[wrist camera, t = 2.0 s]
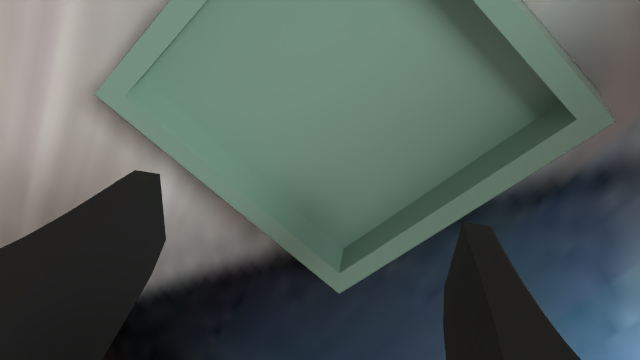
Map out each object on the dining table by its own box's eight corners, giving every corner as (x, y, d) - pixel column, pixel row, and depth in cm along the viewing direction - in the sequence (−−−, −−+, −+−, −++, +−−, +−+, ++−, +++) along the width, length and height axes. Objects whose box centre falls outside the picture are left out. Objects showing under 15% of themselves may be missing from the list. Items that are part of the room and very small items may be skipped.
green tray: (599, 92, 19) (615, 121, 18) (344, 260, 25) (339, 293, 24) (347, -209, 16) (338, -208, 14) (119, 70, 22) (94, 94, 20)
